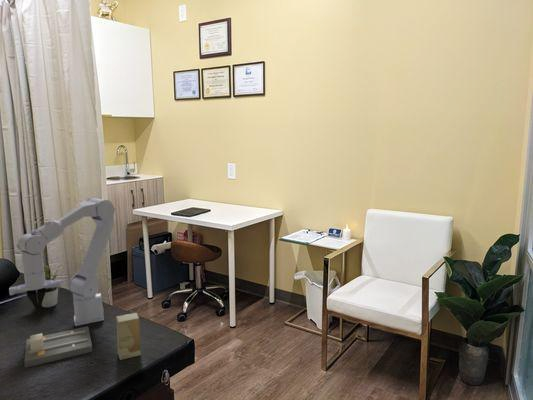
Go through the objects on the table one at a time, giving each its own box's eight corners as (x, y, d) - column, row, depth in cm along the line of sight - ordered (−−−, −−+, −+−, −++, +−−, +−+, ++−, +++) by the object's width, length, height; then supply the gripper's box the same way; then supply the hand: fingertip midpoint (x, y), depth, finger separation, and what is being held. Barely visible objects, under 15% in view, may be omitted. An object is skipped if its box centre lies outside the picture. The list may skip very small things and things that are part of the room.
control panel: (88, 331, 139) (88, 324, 138) (92, 351, 127) (91, 343, 126) (27, 345, 131) (26, 337, 130) (25, 367, 118) (24, 359, 118)
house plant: (18, 306, 159) (13, 265, 156) (54, 293, 170) (50, 256, 167) (37, 315, 151) (32, 273, 148) (73, 302, 162) (69, 262, 159)
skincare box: (119, 360, 122) (116, 322, 119) (117, 353, 125) (114, 316, 123) (142, 355, 124) (139, 317, 122) (139, 348, 128) (136, 311, 126)
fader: (43, 341, 128) (42, 333, 128) (43, 348, 124) (42, 339, 124) (31, 344, 127) (30, 335, 126) (31, 351, 123) (29, 342, 122)
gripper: (59, 263, 138) (63, 301, 140) (8, 271, 131) (13, 310, 134) (59, 270, 131) (63, 310, 134) (6, 278, 125) (12, 319, 127)
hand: (38, 311), depth 133 cm, fingers closed
